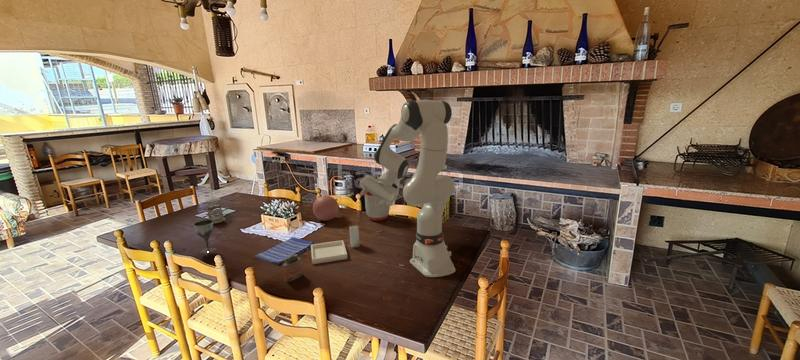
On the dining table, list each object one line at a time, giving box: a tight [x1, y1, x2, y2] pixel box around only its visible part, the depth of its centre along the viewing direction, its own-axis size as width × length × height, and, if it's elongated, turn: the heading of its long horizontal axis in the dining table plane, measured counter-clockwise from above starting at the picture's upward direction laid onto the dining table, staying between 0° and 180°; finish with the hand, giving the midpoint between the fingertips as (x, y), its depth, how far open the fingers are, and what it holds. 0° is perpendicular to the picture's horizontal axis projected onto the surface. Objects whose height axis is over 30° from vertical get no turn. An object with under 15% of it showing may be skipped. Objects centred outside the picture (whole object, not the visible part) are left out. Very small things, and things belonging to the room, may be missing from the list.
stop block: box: [348, 224, 360, 249], centre depth 169 cm, size 4×4×10 cm
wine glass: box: [193, 219, 217, 255], centre depth 167 cm, size 8×8×15 cm
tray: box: [310, 239, 348, 265], centre depth 162 cm, size 16×16×2 cm
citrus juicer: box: [364, 191, 391, 222], centre depth 205 cm, size 16×17×20 cm
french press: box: [204, 181, 227, 224], centre depth 207 cm, size 10×12×25 cm
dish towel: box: [254, 236, 315, 266], centre depth 166 cm, size 17×24×3 cm
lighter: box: [282, 254, 303, 283], centre depth 141 cm, size 8×3×10 cm, turn 141°
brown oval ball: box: [312, 195, 340, 222], centre depth 206 cm, size 15×20×15 cm
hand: (368, 199), depth 165 cm, fingers open, 8 cm apart
